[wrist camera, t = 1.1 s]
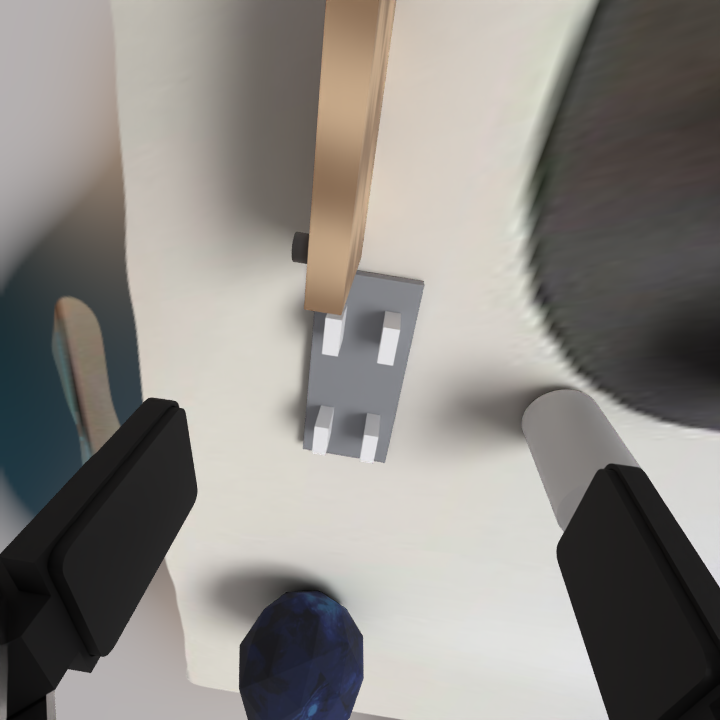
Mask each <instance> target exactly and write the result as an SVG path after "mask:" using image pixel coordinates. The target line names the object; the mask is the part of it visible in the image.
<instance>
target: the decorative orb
mask: <svg viewBox="0 0 720 720" xmlns="http://www.w3.org/2000/svg"><path fill="white" fill-rule="evenodd" d="M363 678H364V676H363V635H362V634H361V632H360V631H359V629H358V627H357V626H356V624H355V622H354V621H353V619H352V617H351V616H350V614H349V612H348V611H347V609H346V608H344V607H343V606H341V605H340V604H338V603H337V602H335V601H334V600H332V599H331V598H329V597H328V596H326V595H325V594H323V593H321V592H320V591H305V592H286V593H285V594H284V595H282V596H281V597H280V598H278V599H277V600H276V601H274V602H273V603H272V604H270V605H269V606H268V607H266V608H265V609H264V610H263V612H262V613H261V615H260V616H259V618H258V619H257V620H256V622H255V623H254V625H253V626H252V628H251V629H250V631H249V632H248V634H247V635H246V637H245V638H244V640H243V641H242V643H241V644H240V660H239V690H240V694H241V697H242V701H243V704H244V708H245V711H246V715H247V718H248V720H348V719H349V718H350V715H351V712H352V710H353V707H354V704H355V701H356V698H357V695H358V693H359V690H360V687H361V684H362V681H363Z"/></svg>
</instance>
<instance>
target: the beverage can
mask: <svg viewBox="0 0 720 720" xmlns="http://www.w3.org/2000/svg"><path fill="white" fill-rule="evenodd" d="M522 430H523V433H524V436H525V438H526V441H527V443H528V446H529V449H530V451H531V454H532V457H533V459H534V462H535V464H536V467H537V470H538V472H539V475H540V477H541V480H542V483H543V485H544V488H545V491H546V493H547V496H548V498H549V501H550V504H551V506H552V509H553V512H554V514H555V517H556V519H557V522H558V524H559V526H560V528H561V529H562V530H563V531H565V529H566V528H567V526H568V524H569V522H570V520H571V518H572V516H573V515H574V513H575V511H576V509H577V507H578V505H579V503H580V502H581V500H582V498H583V496H584V494H585V492H586V490H587V488H588V487H589V485H590V483H591V481H592V479H593V477H594V475H595V474H596V472H597V471H598V470H599V469H604V468H605V467H606V465H608V464H610V463H614V464H621V465H628V466H635V467H639V468H641V467H640V466H639V464H638V463H637V461H636V460H635V459H634V457H633V456H632V454H631V453H630V451H629V450H628V448H627V447H626V445H625V444H624V442H623V441H622V440H621V438H620V437H619V435H618V434H617V432H616V431H615V429H614V428H613V426H612V425H611V424H610V422H609V421H608V419H607V418H606V416H605V415H604V413H603V412H602V410H601V409H600V407H599V406H598V405H597V403H596V402H595V401H594V400H593V399H592V398H591V397H590V396H589V395H587V394H585V393H583V392H580V391H576V390H567V389H566V390H556V391H552V392H549V393H546V394H544V395H542V396H540V397H538V398H537V399H536V400H534V401H533V402H532V403H531V404H530V405H529V406H528V407H527V409H526V410H525V412H524V414H523V417H522Z"/></svg>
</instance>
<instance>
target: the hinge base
mask: <svg viewBox="0 0 720 720" xmlns="http://www.w3.org/2000/svg"><path fill="white" fill-rule="evenodd" d="M423 288H424V281H419V280H413V279H407V278H401V277H394V276H388V275H382V274H376V273H370V272H364V271H356V274H355V277H354V280H353V283H352V286H351V288H350V291H349V294H348V297H347V300H346V303H345V306H344V309H343V312H342V315H335V314H329V313H323V312H317V311H315V313H314V325H313V336H312V348H311V360H310V371H309V383H308V395H307V407H306V418H305V430H304V442H303V449H307V450H312V453H314V454H320V455H326V453H330V454H336V455H342V456H348V457H354V458H360V461H361V462H367V463H373V462H374V461H377V462H383V463H385V460H386V455H387V451H388V446H389V442H390V437H391V433H392V428H393V424H394V419H395V415H396V410H397V406H398V401H399V397H400V392H401V388H402V383H403V379H404V374H405V370H406V365H407V361H408V356H409V352H410V347H411V343H412V338H413V334H414V329H415V325H416V320H417V316H418V311H419V307H420V302H421V298H422V293H423Z"/></svg>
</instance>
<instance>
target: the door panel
mask: <svg viewBox="0 0 720 720" xmlns="http://www.w3.org/2000/svg"><path fill="white" fill-rule="evenodd" d="M395 6H396V0H326V8H325V22H324V36H323V50H322V64H321V78H320V92H319V106H318V120H317V134H316V148H315V162H314V176H313V190H312V204H311V218H310V233H309V234H306V233H300V232H296V233H295V235H294V239H293V244H292V260H293V262H299V263H305V264H307V275H306V289H305V303H304V309H305V310H311V311H317V312H323V313H329V314H335V315H342V312H343V309H344V306H345V303H346V300H347V297H348V294H349V291H350V288H351V286H352V283H353V280H354V277H355V274H356V271H357V268H358V265H359V262H360V259H361V254H362V247H363V240H364V232H365V225H366V218H367V210H368V203H369V196H370V188H371V181H372V174H373V167H374V159H375V152H376V145H377V137H378V130H379V123H380V115H381V108H382V101H383V93H384V86H385V79H386V71H387V64H388V57H389V49H390V42H391V35H392V28H393V20H394V13H395Z"/></svg>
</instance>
